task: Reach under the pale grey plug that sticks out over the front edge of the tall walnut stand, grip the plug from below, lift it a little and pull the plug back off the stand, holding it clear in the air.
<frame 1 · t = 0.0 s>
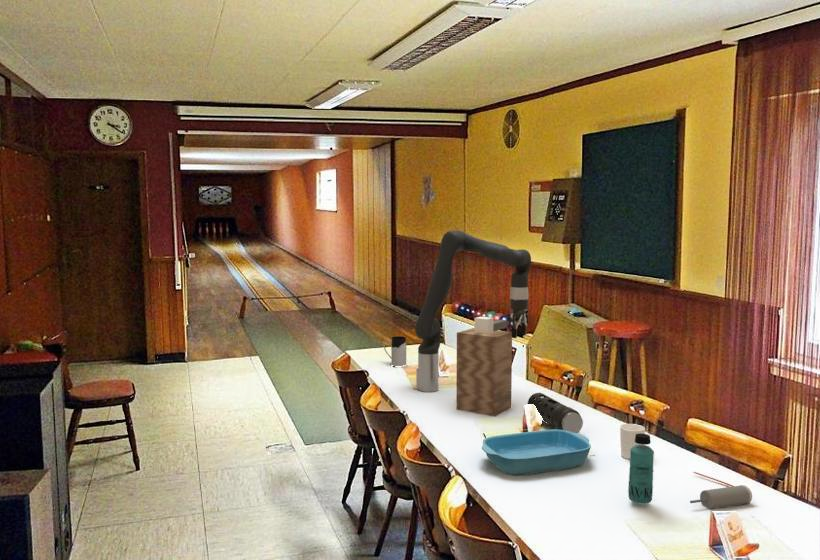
hand: (518, 336, 294), 29 cm above the table, tool pointing down, fingers open, 8 cm apart
glass holder: (394, 365, 374), on the table
stand: (483, 408, 292), on the table
beverage bottle: (640, 505, 197), on the table
motor: (701, 494, 206), on the table
casserole dish: (535, 463, 230), on the table
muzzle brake: (554, 428, 267), on the table
plug: (486, 331, 290), point 32 cm above the table, touching stand
white cup: (631, 457, 235), on the table
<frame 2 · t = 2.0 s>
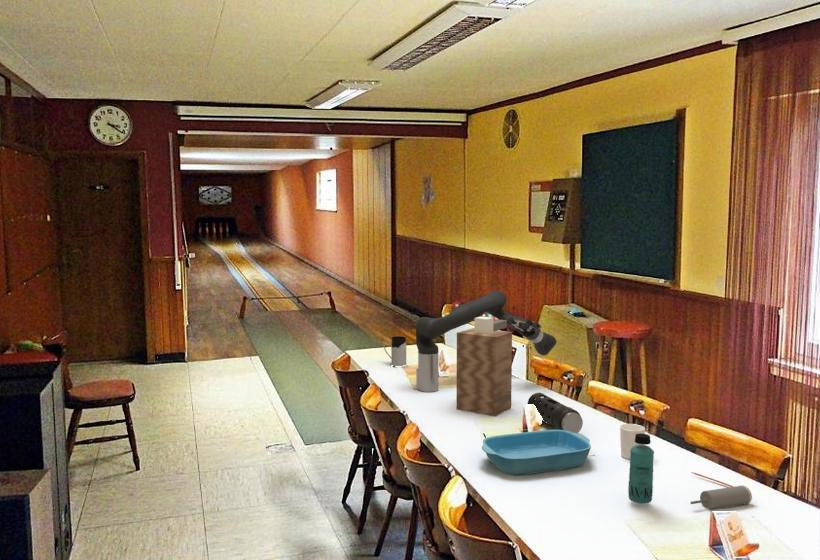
hand: (518, 319, 313), 33 cm above the table, tool pointing upward, fingers open, 8 cm apart
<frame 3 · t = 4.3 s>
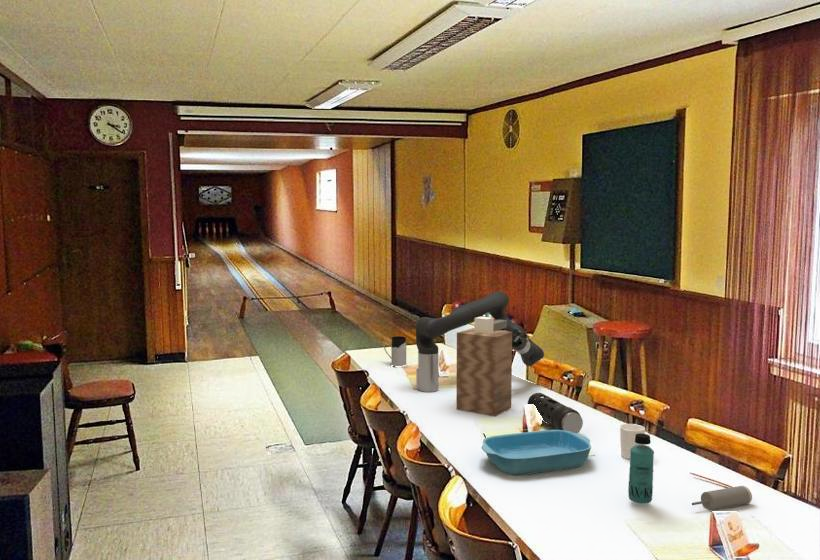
hand: (505, 329, 304), 31 cm above the table, tool pointing upward, fingers open, 8 cm apart
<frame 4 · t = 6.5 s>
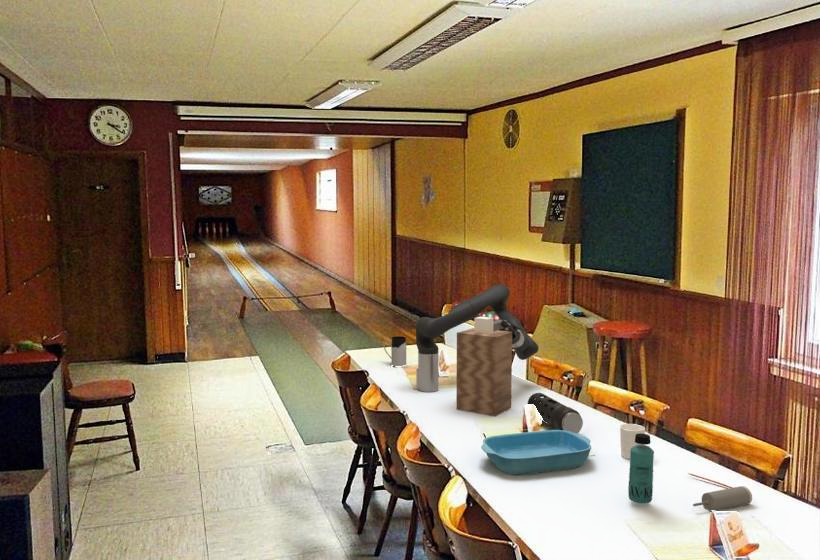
hand: (497, 321, 297), 35 cm above the table, tool pointing upward, fingers closed on plug, 4 cm apart
plug: (486, 331, 290), point 32 cm above the table, touching gripper, stand
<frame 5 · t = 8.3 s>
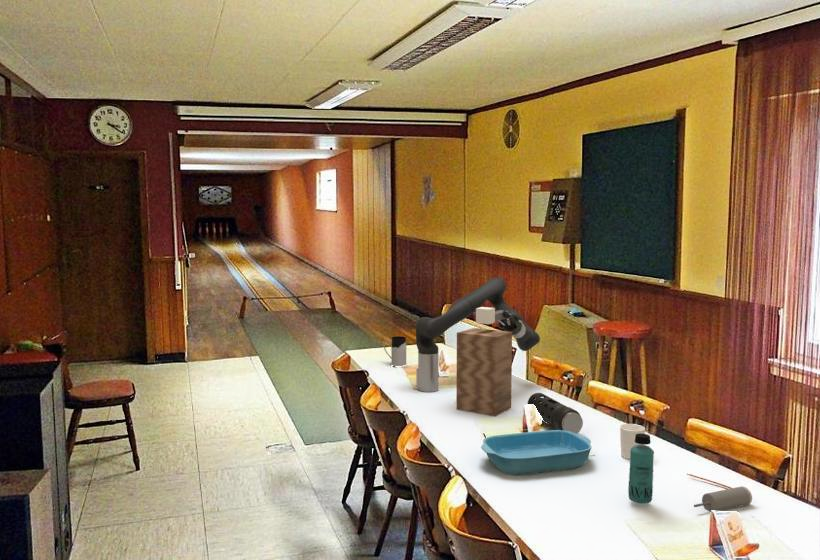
hand: (498, 312, 298), 39 cm above the table, tool pointing upward, fingers closed on plug, 4 cm apart
plug: (488, 321, 291), point 36 cm above the table, touching gripper
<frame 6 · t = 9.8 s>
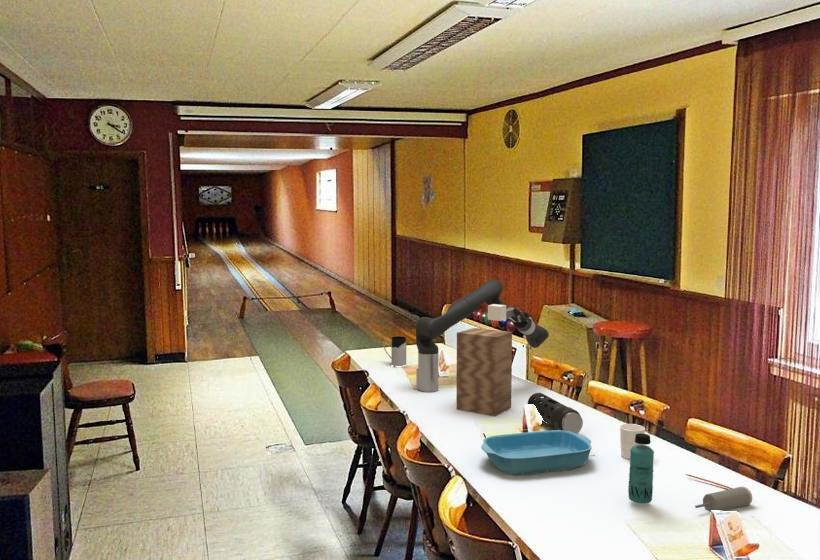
hand: (509, 309, 306), 39 cm above the table, tool pointing upward, fingers closed on plug, 4 cm apart
plug: (499, 318, 299), point 36 cm above the table, touching gripper
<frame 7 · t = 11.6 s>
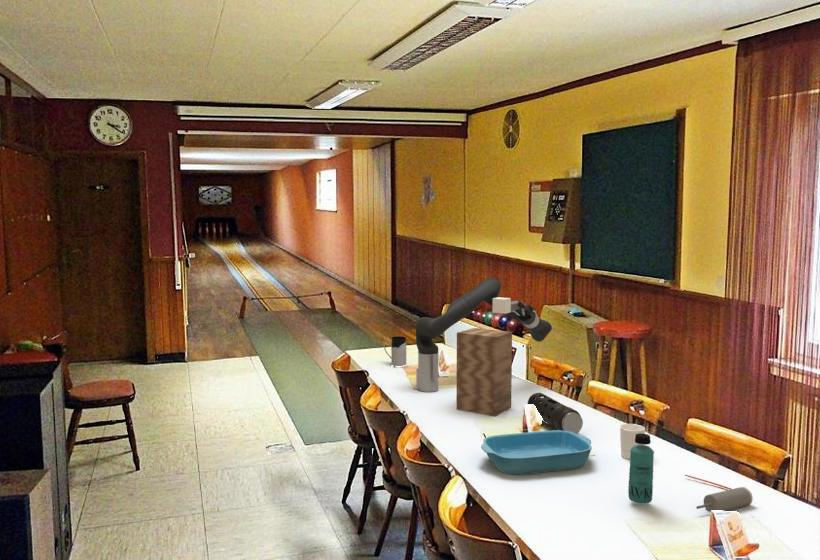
hand: (514, 302, 309), 41 cm above the table, tool pointing upward, fingers closed on plug, 4 cm apart
plug: (504, 311, 302), point 38 cm above the table, touching gripper
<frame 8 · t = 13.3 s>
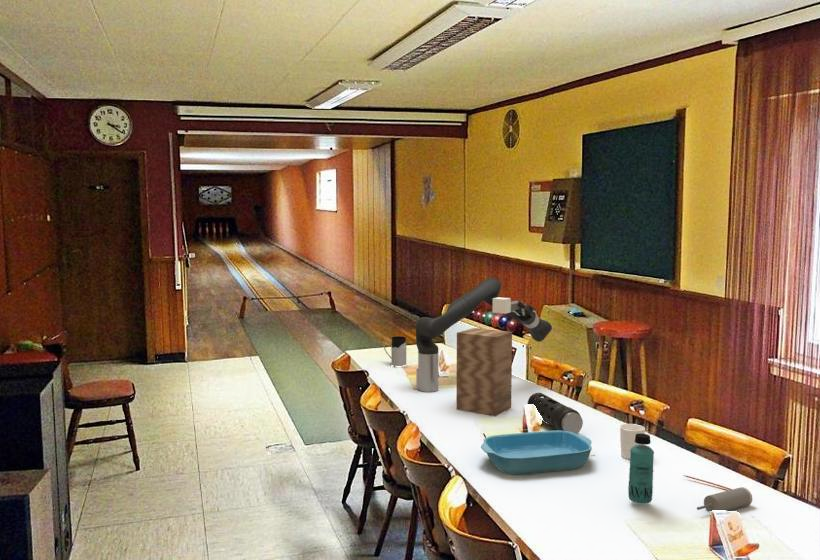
hand: (514, 302, 309), 41 cm above the table, tool pointing upward, fingers closed on plug, 4 cm apart
plug: (504, 311, 302), point 38 cm above the table, touching gripper
at the end: the gripper is holding plug; plug touching gripper; plug moved 16.7 cm from its start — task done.
